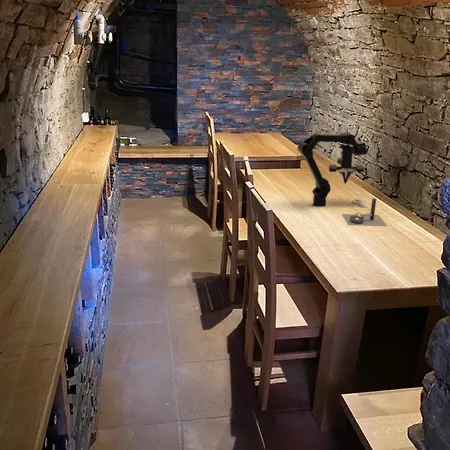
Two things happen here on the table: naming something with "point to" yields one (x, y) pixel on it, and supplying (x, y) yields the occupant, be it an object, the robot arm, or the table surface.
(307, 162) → the robot arm
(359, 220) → the crank handle
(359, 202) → the adjustable wrench
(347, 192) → the table surface
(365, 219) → the level stand
